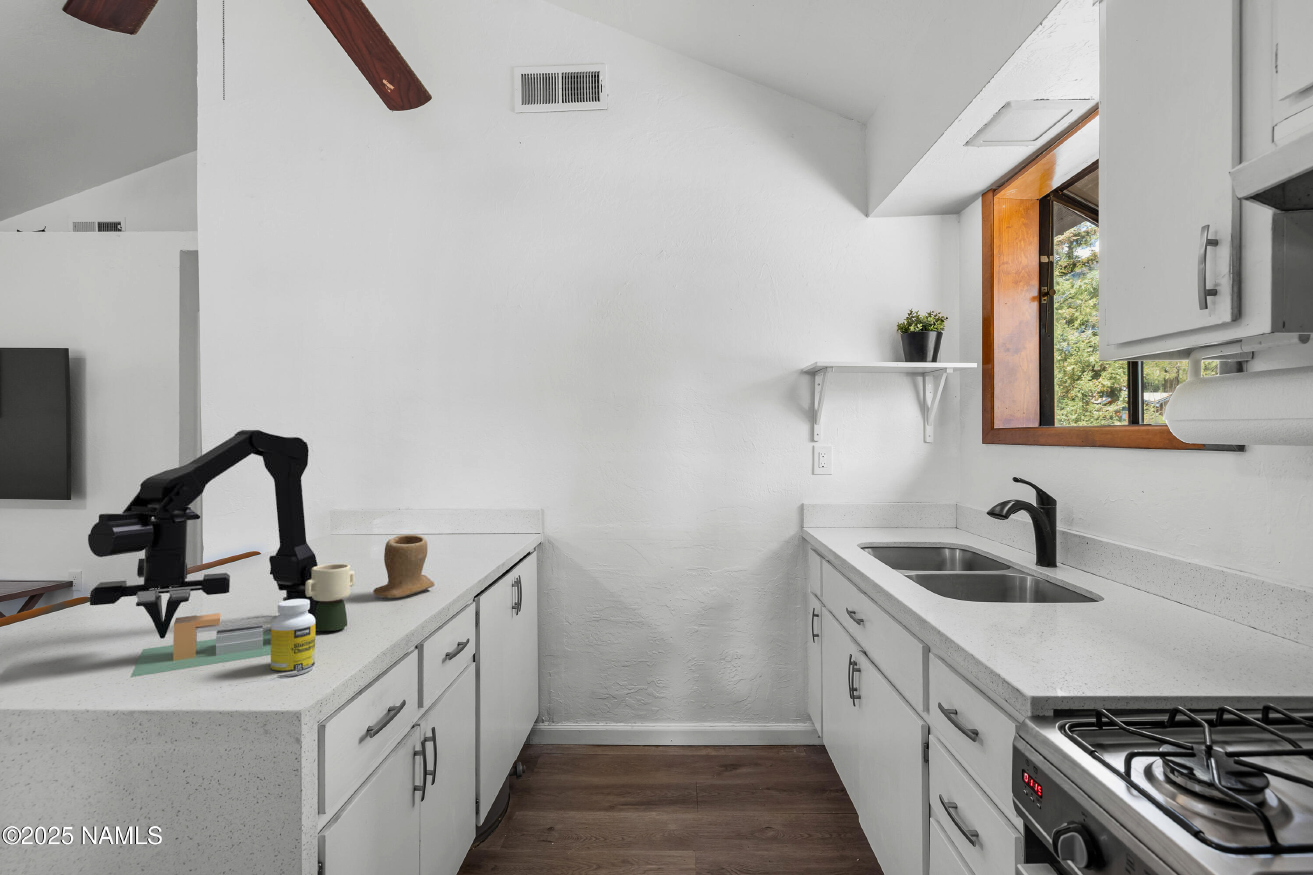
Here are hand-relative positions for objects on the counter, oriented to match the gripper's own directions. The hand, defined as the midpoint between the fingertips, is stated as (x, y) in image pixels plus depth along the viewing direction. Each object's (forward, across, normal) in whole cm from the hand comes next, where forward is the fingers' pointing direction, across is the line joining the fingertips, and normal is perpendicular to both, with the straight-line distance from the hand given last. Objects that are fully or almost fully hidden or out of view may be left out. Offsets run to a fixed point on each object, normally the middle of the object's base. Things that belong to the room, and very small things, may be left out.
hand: (162, 637), depth 108 cm
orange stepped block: (+3, -5, 0) cm, 6 cm away
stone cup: (+4, -47, -29) cm, 55 cm away
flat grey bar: (0, -11, 0) cm, 11 cm away
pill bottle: (+4, -19, +16) cm, 25 cm away
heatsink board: (+4, -8, 0) cm, 9 cm away
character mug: (+4, -27, -6) cm, 28 cm away
